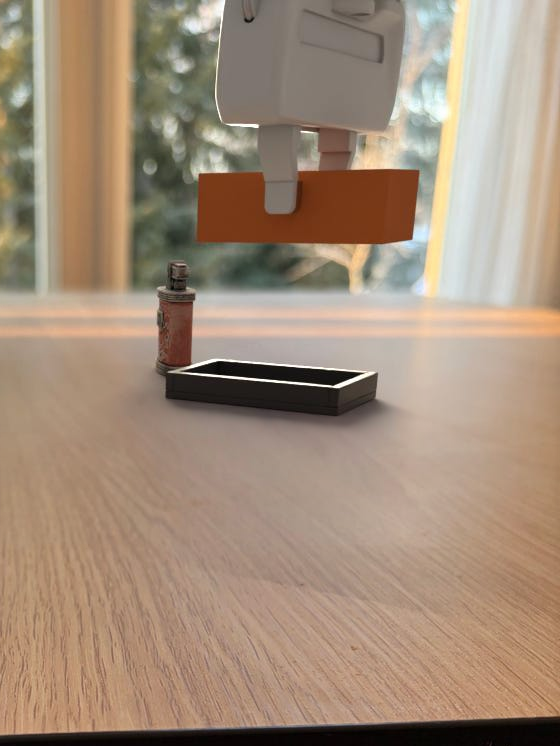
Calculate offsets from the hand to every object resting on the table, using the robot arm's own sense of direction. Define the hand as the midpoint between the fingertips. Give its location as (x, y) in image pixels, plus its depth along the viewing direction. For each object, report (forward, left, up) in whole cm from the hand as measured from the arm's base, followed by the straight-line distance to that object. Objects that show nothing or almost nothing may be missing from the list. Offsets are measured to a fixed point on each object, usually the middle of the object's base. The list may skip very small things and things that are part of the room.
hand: (305, 212), depth 66 cm
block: (0, 0, -2) cm, 2 cm away
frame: (+9, -16, -15) cm, 24 cm away
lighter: (+23, -25, -15) cm, 37 cm away
